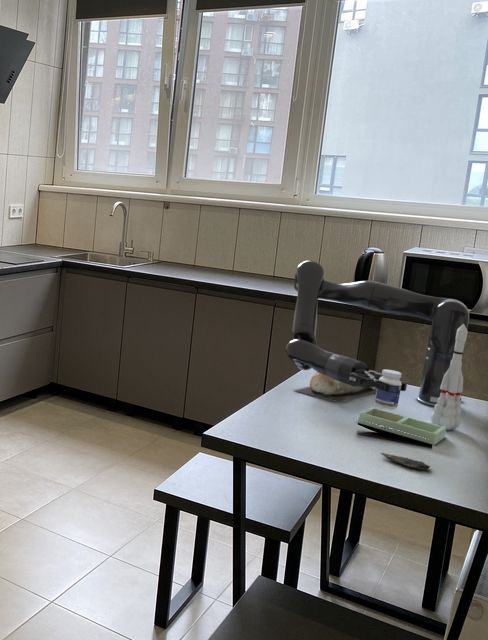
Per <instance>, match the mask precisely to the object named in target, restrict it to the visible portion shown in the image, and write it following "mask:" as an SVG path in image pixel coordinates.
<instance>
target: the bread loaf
mask: <svg viewBox="0 0 488 640" xmlns="http://www.w3.org/2000/svg"><path fill="white" fill-rule="evenodd" d="M376 391H377V388H376V389H373V388H371V387H370V388H366V387H362V386H358V387H353V386H351V385H348V384H345V383H343V382H340V381H337V380H335V379H333V378H331V377H329V376H326V375H323V374H321V373H318V372H316V371H315V372H314V374H313V375H312V377H311V379H310V380H309V387H305V388H301V389H298V390H296V392H298V393H301V394H305V395H308V396H309V395H310V396H312V397H318V398H322V399H326V400H329V401H334V402H339V403H340V402H345V401H348V400H353V399H356V398H360V397H364V396H367V395H368V396H369V395H371V394H376Z"/></svg>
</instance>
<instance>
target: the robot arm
mask: <svg viewBox="0 0 488 640" xmlns="http://www.w3.org/2000/svg"><path fill="white" fill-rule="evenodd" d="M293 287H294V288H293V289H294V290H295V291H296V292H297V298H296V303H295V309H294V314H293V320H292V328H291V336H292V339H293V340H290V341H288V343H287V344H286V347H285V353H286V356H287V358H288V359H289V360H290V361H291V362H292V363H293V364H294V365H295V367H296V368H298V369H299V370H301V371H309V370H314V372H315V373H316V372H318V373H321V374H323V375H326V376H329V377H331V378H333V379H335V380H337V381H340V382H343V383H345V384H348V385H351V386H353V387H358V386H362V387H366V388H370V387H371V388H373V389H376V388H377V389H379V390H382V391H385V392H390V391H391V385H390V384H388V383H385V382H382V381H379V378H380V377H382V376H383V375H382V371H379V372H377V371H375V370H371V369H369V368H368V366H367V363H365V362H363V361H360V360H357V359H354V358H352V357H348V356H345V355H341V354H336V353H334V352H330V351H327V350H324V349H323V348H322V347H321V348H320V347H319V346H318V344H317V343H318V342H317V338H316V335H317V325H318V305H319V304H318V302H319V300H318V299H320V300H325V301H333V302H338V303H341V304H346V305H351V306H356V307H359V308H363V309H366V310H369V311H375V312H379V313H383V314H389V315H390V314H391V315H399V316H409V317H416V318H420V319H423V320H426V321H429V322H432V323H431V327H430V332H429V337H428V341H427V348H426V354H425V359H424V365H423V371H422V375H421V382H420V387H419V391H418V397H417V401H418V402H419V403H422V404H424V405H427V406H430V407H435V404H437V400H438V398H439V397H440V393H441V391H442V390H441V389H440V387H441V383H442V380H443V377H444V375H445V373H446V372H447V370H448V369H449V367H450V363H451V360H452V359H453V354H454V348H455V343H456V334H457V329H458V328H460V327H461V326H462V325H463V324H464V325H465V327H466V329H467V330H468V327H469V321H470V312H469V309H468V307H467V306H466V305H465V304H464V303H463V302H462V301H460V300H458V299H456V298H455V299H454V298H447V297H437V296H431V295H425V294H421V293H417V292H415V291H411V290H408V289H405V288H402V287H398V286H394V285H391V284H387V283H383V282H379V281H374V280H360V281H354V282H348V283H341V282H340V283H339V282H334V281H329V280H326V272H325V268H324V267H323V265H322V264H321V263H320V262H317V261H316V260H315V261H314V260H305V261H303V262H301V263H300V264H298V266H297V268H296V269H295V273H294V282H293ZM401 383H402V386H401V391H400V392H406V391H407V387H408V384H407V383H406V382H403V381H401ZM460 401H462V397H461V398H460Z"/></svg>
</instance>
